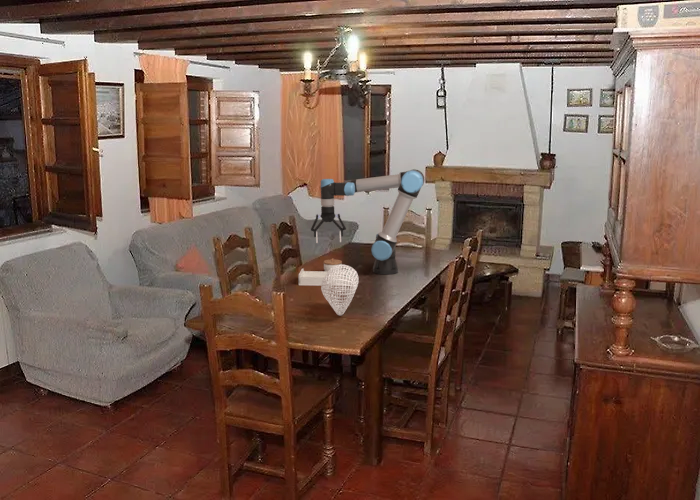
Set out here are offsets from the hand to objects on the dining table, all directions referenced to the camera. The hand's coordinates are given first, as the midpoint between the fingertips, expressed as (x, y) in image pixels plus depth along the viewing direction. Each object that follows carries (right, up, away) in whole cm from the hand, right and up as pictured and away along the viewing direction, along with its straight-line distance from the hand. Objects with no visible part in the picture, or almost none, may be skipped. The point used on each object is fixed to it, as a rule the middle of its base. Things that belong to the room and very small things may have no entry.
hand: (328, 242), depth 378 cm
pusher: (+11, -21, -16) cm, 29 cm away
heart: (+8, -35, -76) cm, 84 cm away
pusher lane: (0, -22, -15) cm, 27 cm away
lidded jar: (+2, -19, +5) cm, 20 cm away
